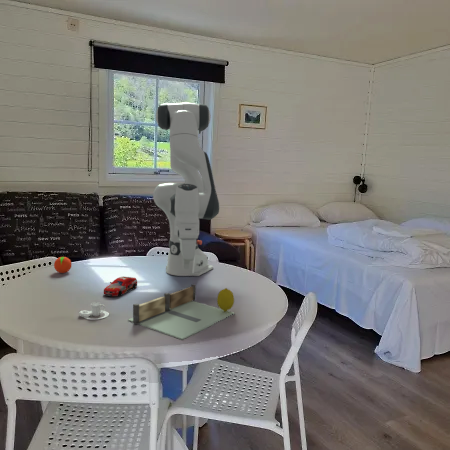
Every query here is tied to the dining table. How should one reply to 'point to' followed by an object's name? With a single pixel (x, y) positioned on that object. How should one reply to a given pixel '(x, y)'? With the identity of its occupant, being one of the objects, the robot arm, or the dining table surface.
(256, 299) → the dining table surface
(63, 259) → the clementine
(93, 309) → the teacup and saucer
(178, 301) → the fence panel
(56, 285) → the dining table surface
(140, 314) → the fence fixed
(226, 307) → the lemon
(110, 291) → the race car
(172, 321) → the mat
